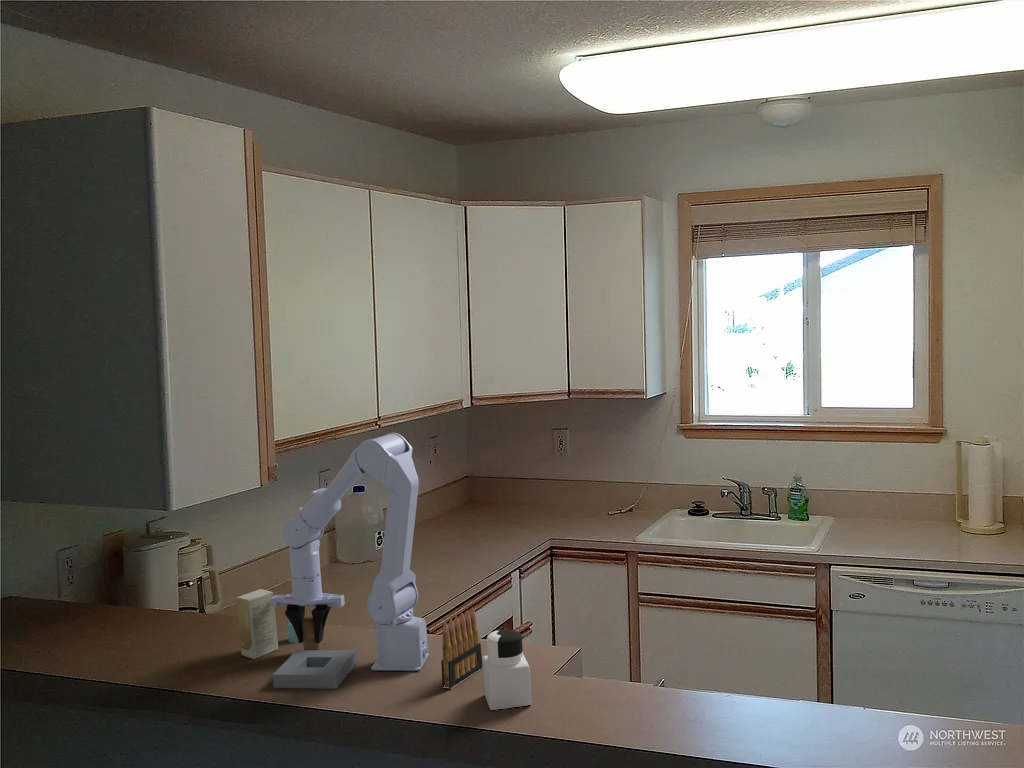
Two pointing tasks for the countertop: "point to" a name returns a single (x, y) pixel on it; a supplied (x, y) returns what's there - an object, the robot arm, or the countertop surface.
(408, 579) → the robot arm
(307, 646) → the long walnut pin
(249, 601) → the skincare box
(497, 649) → the medicine bottle
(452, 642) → the ammunition clip
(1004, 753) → the countertop surface
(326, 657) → the slate hole block
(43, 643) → the countertop surface
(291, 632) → the short teal pin
